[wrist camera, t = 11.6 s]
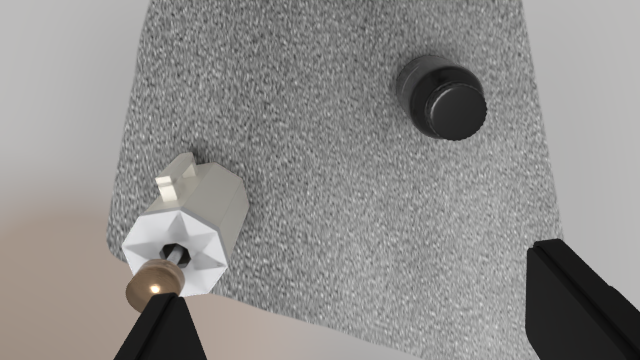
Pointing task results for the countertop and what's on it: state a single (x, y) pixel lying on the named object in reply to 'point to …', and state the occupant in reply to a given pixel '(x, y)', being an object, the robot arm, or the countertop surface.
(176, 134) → the countertop surface
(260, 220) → the countertop surface
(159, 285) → the plunger
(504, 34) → the countertop surface
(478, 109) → the supplement bottle
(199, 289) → the press pot
